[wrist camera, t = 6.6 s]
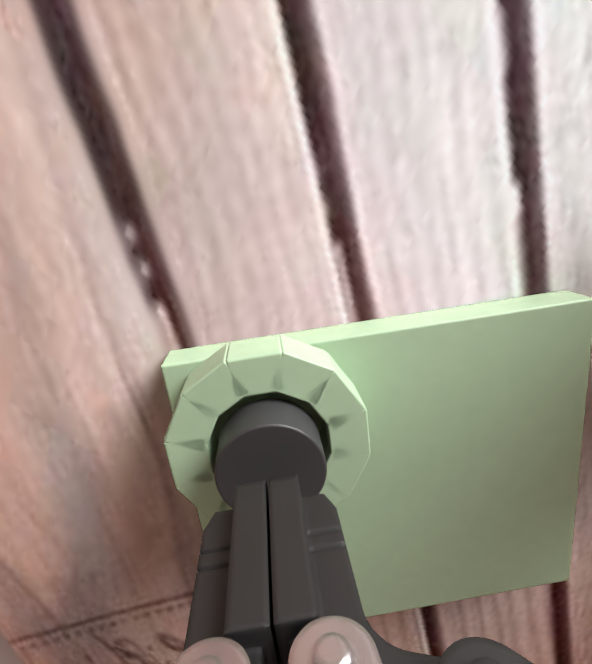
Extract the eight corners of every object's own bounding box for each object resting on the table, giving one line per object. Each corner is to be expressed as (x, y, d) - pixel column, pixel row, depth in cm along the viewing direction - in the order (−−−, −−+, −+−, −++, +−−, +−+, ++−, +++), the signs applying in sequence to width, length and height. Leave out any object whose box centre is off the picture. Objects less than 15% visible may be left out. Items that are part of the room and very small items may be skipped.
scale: (232, 610, 18) (227, 688, 15) (165, 337, 14) (141, 373, 11) (547, 553, 18) (600, 618, 16) (567, 276, 14) (642, 295, 12)
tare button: (229, 492, 13) (225, 529, 11) (210, 406, 12) (203, 435, 10) (324, 475, 13) (333, 510, 12) (313, 389, 12) (320, 416, 11)
